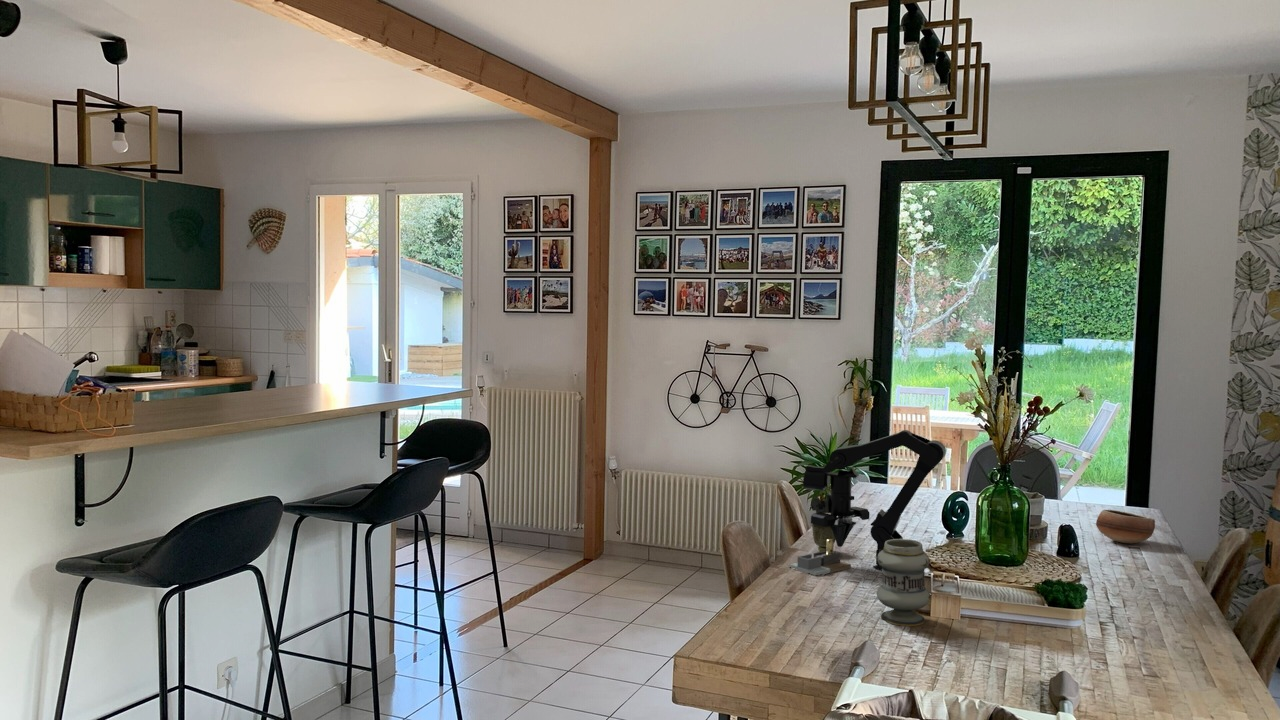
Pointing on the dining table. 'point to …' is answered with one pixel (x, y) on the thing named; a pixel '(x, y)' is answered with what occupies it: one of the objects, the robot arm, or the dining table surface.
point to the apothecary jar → (903, 581)
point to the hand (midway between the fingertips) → (839, 546)
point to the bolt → (827, 549)
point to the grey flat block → (833, 562)
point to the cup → (822, 536)
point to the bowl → (1125, 526)
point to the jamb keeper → (810, 565)
